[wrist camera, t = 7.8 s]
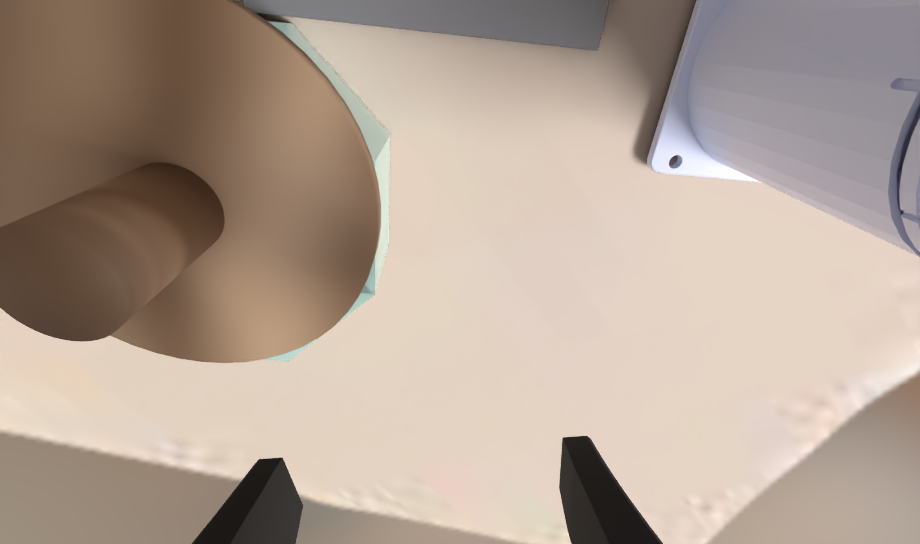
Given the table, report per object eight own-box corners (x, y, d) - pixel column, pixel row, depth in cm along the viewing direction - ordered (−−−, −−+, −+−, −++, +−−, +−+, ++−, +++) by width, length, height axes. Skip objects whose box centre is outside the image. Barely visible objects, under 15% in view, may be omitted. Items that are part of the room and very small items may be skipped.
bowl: (392, 34, 15) (375, 34, 11) (387, 309, 20) (375, 365, 17) (38, -5, 14) (-99, -18, 10) (135, 292, 20) (67, 349, 16)
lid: (397, 17, 11) (361, 5, 6) (369, 364, 17) (340, 488, 12) (-118, -81, 10) (-617, -182, 5) (42, 329, 16) (-128, 453, 11)
